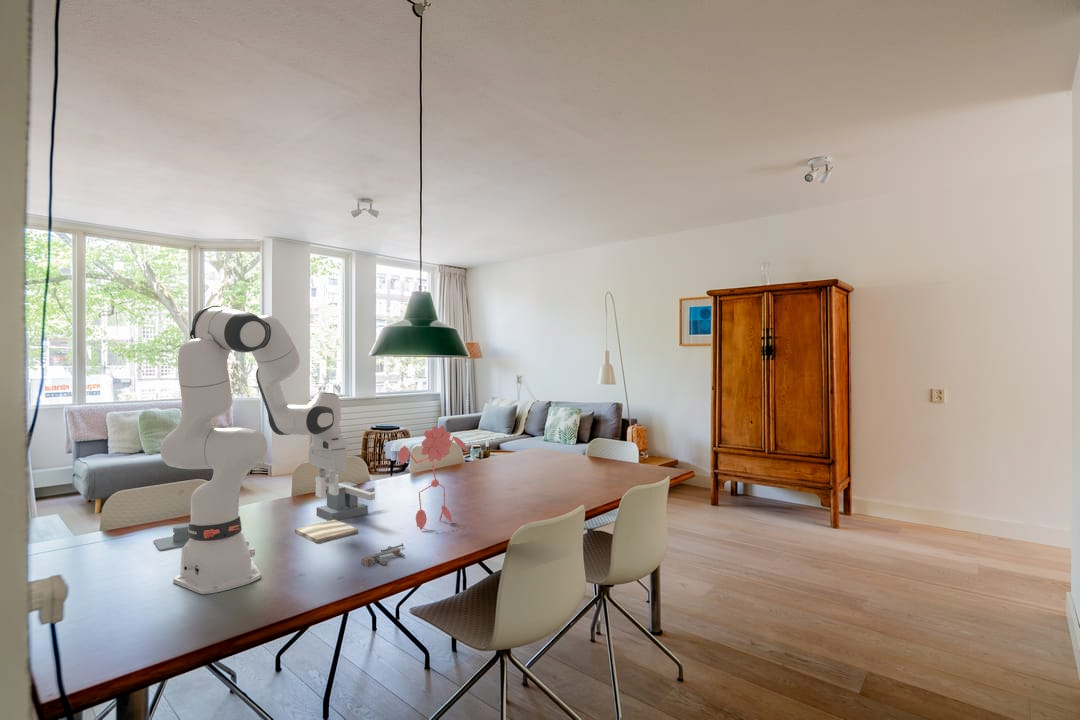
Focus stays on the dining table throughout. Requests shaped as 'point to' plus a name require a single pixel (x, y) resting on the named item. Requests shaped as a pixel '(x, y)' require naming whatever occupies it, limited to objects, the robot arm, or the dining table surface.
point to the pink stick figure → (435, 448)
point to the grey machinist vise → (345, 502)
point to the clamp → (369, 559)
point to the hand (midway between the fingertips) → (327, 481)
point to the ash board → (326, 531)
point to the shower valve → (174, 538)
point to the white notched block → (322, 484)
